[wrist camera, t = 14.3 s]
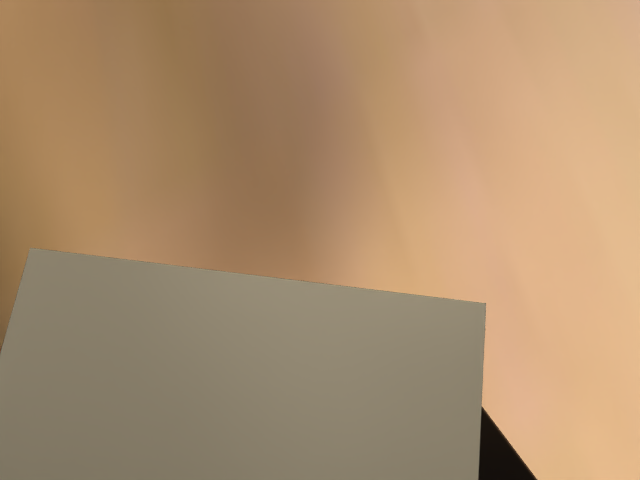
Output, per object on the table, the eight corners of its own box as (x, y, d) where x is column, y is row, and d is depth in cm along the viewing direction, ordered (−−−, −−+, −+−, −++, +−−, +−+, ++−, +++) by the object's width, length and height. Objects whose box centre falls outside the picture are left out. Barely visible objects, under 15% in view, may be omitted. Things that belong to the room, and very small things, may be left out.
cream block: (374, 564, 13) (459, 917, 4) (173, 533, 13) (-129, 808, 5) (392, 355, 14) (485, 303, 6) (209, 332, 15) (30, 248, 6)
